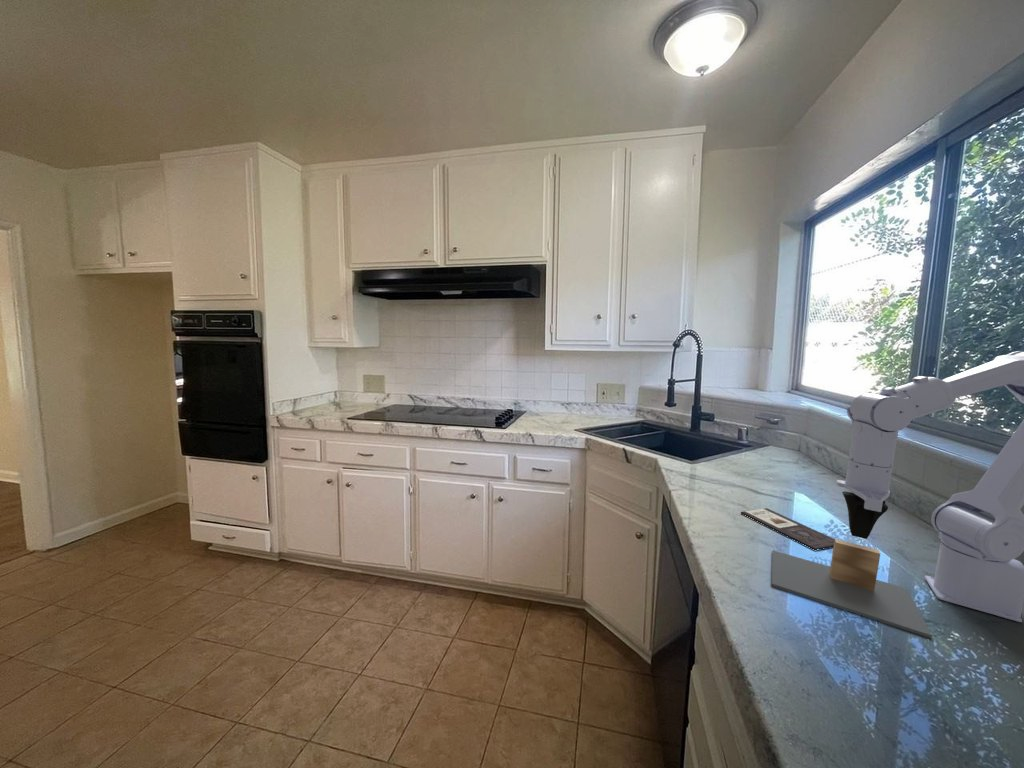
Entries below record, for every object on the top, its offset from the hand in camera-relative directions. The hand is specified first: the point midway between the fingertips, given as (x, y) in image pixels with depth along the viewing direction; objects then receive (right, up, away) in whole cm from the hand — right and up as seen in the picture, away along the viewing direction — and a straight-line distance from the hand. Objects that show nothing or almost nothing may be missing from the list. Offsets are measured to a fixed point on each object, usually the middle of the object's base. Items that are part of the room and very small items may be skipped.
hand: (858, 535), depth 70 cm
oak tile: (0, -9, +1) cm, 9 cm away
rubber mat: (-4, -9, 0) cm, 10 cm away
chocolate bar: (+3, -8, +23) cm, 24 cm away
